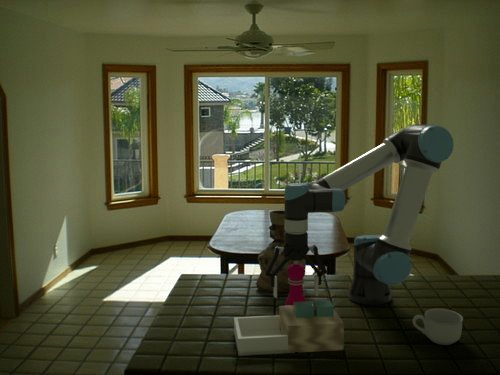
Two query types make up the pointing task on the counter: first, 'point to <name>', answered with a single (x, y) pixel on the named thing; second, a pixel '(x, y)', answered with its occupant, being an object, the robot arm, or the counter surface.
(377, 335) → the counter surface
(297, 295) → the pepper mill
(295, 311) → the tile
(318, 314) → the tile
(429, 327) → the teacup
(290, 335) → the light wood block
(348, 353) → the counter surface
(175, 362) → the counter surface
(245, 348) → the tray
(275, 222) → the ceramic vessel
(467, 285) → the counter surface
